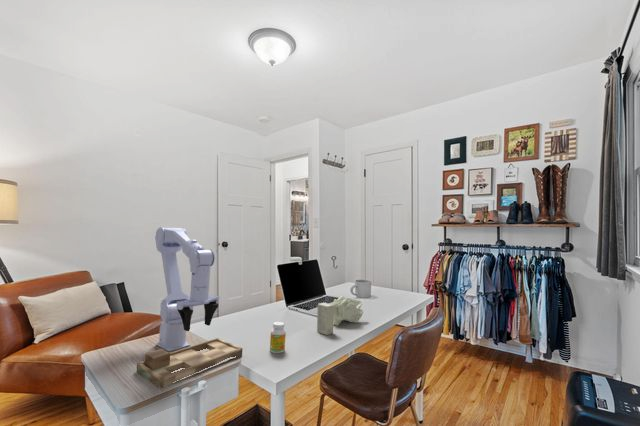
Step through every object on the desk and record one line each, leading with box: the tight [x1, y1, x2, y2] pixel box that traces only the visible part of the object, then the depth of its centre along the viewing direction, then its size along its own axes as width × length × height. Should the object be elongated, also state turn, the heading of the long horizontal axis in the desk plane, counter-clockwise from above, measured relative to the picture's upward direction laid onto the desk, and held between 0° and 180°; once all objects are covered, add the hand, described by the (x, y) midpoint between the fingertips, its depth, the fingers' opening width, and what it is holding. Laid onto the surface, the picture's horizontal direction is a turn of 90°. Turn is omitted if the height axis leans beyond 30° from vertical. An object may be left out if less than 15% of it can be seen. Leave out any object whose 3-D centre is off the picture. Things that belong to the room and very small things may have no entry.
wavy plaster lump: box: [331, 295, 364, 327], centre depth 148 cm, size 18×13×16 cm
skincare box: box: [316, 302, 334, 336], centre depth 133 cm, size 6×4×12 cm
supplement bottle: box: [269, 321, 287, 354], centre depth 111 cm, size 5×5×10 cm
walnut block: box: [144, 348, 171, 371], centre depth 91 cm, size 5×5×4 cm
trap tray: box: [135, 337, 244, 389], centre depth 97 cm, size 14×28×3 cm, turn 145°
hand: (197, 327), depth 101 cm, fingers open, 7 cm apart
